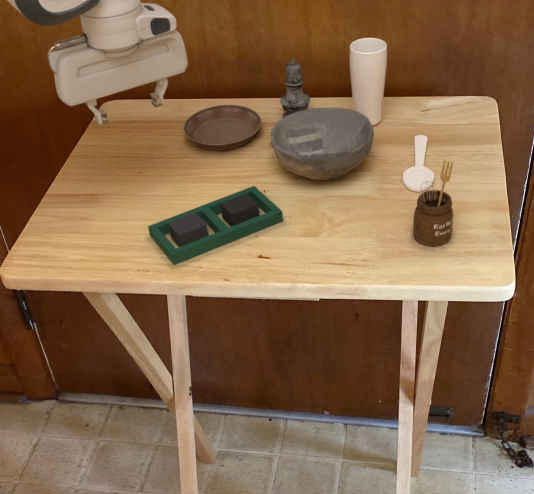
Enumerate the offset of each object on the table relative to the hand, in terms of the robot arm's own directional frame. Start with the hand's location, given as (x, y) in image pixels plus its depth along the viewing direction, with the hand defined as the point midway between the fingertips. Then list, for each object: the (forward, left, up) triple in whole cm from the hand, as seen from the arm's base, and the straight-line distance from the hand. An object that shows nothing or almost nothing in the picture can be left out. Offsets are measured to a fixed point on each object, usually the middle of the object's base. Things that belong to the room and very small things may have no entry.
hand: (130, 113), depth 126 cm
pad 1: (+2, -11, -18) cm, 21 cm away
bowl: (+31, -6, -19) cm, 37 cm away
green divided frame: (+7, -11, -18) cm, 23 cm away
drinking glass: (+47, +3, -19) cm, 51 cm away
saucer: (+22, +15, -19) cm, 32 cm away
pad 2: (+12, -11, -18) cm, 24 cm away
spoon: (+45, -15, -18) cm, 51 cm away
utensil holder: (+34, -33, -19) cm, 51 cm away
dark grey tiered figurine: (+37, +13, -19) cm, 43 cm away
